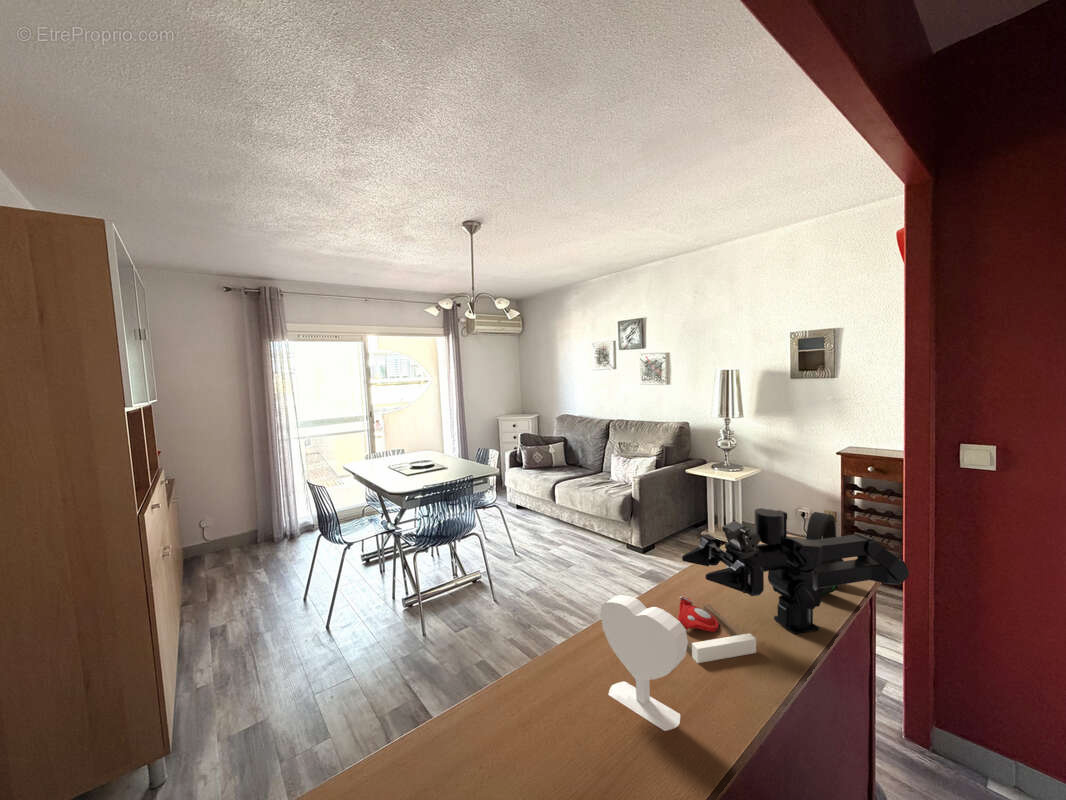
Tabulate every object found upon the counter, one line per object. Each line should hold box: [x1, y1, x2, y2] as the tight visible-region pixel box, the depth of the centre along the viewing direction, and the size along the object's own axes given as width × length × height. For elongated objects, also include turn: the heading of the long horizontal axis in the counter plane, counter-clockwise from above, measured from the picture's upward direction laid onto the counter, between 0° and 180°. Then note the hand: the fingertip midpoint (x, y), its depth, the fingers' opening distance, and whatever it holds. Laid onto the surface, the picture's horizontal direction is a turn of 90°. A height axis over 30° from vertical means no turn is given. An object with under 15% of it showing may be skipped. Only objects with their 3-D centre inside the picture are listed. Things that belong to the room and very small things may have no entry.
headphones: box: [805, 511, 845, 596], centre depth 116 cm, size 9×16×20 cm, turn 131°
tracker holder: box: [677, 595, 720, 632], centre depth 104 cm, size 12×4×10 cm
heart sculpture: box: [600, 594, 689, 732], centre depth 78 cm, size 16×5×18 cm, turn 43°
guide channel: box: [686, 603, 757, 664], centre depth 99 cm, size 13×17×3 cm
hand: (693, 567), depth 95 cm, fingers open, 9 cm apart
